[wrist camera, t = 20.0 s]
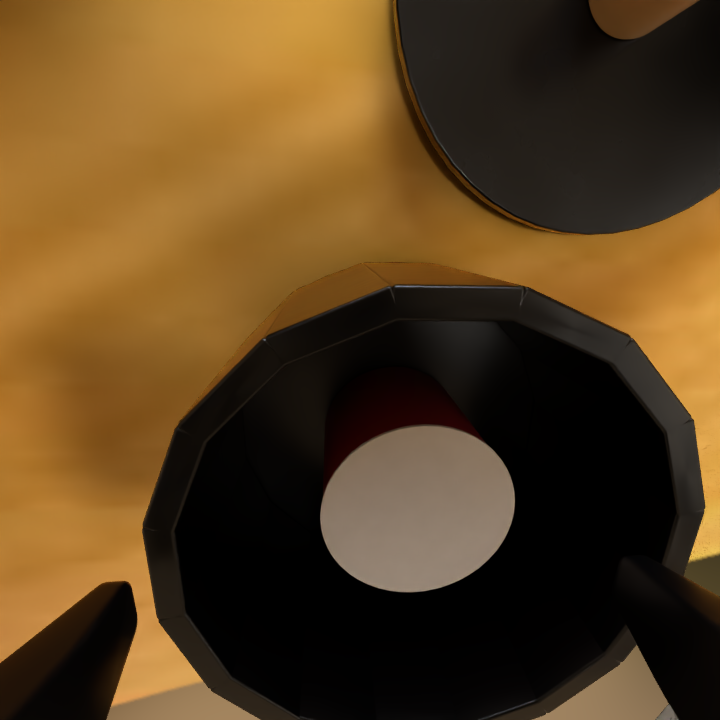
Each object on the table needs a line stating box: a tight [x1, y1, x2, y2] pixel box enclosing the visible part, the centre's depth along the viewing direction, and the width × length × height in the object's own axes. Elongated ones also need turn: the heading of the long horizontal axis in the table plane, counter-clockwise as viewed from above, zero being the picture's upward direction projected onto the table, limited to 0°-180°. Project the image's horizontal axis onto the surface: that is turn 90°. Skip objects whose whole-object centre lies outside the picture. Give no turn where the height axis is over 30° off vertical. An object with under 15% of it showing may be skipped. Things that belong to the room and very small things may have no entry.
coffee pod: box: [320, 366, 515, 592], centre depth 12 cm, size 5×5×4 cm
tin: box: [142, 262, 705, 720], centre depth 11 cm, size 11×11×6 cm
